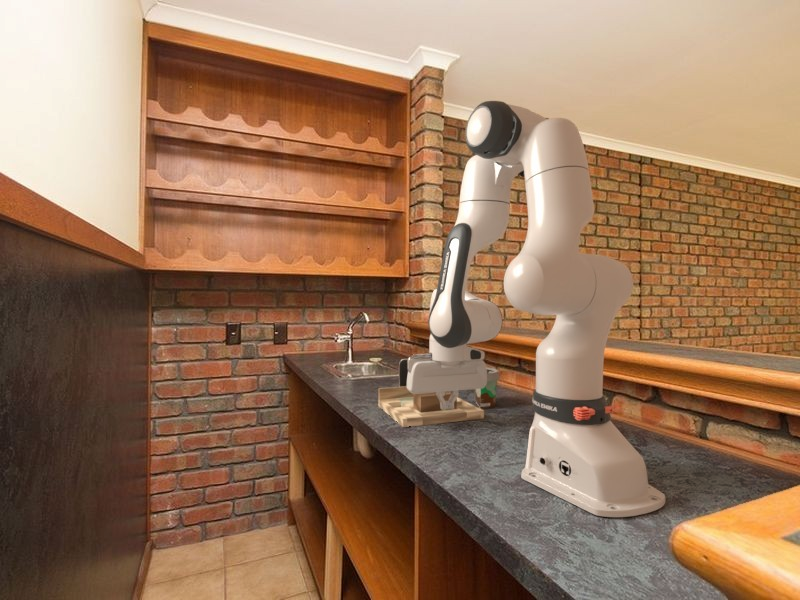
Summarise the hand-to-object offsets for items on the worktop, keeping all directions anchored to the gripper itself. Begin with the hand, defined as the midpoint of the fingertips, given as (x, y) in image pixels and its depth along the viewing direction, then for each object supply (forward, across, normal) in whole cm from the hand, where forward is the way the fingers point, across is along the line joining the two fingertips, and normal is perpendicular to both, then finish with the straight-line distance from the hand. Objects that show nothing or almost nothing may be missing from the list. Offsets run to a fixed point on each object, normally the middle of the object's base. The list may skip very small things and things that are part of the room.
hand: (447, 409), depth 102 cm
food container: (+4, +19, +12) cm, 23 cm away
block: (+2, 0, +7) cm, 7 cm away
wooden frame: (+4, 0, +11) cm, 12 cm away
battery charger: (+4, +2, +30) cm, 30 cm away
